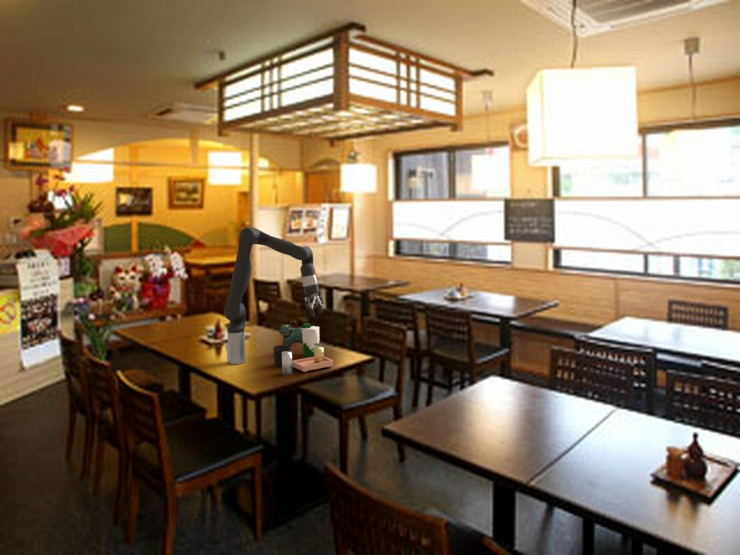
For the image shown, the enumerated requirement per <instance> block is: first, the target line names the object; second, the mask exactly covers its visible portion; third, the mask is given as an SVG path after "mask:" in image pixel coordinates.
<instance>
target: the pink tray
mask: <svg viewBox="0 0 740 555" xmlns="http://www.w3.org/2000/svg"><path fill="white" fill-rule="evenodd" d="M333 366H335V365H334V359H331V358H328V357H326V356H324V362H321V363H314V357H310V358H305V359H303V358H300V359H294V360H293V359H292V368H295V369H297V370H299V371H302V372H303V373H305V374H306V373H307V372H308V371H313V370H319V369H322V368H328V369H331V367H333Z"/></svg>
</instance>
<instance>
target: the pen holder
mask: <svg viewBox="0 0 740 555" xmlns="http://www.w3.org/2000/svg"><path fill="white" fill-rule="evenodd" d="M284 351H291V352H292V346H283V344H282V345H281V344H278V345H274V346H273V358H274V359H273V360H274V366H275V367H277V366H278V368H282V352H284Z"/></svg>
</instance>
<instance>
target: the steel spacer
mask: <svg viewBox="0 0 740 555" xmlns="http://www.w3.org/2000/svg"><path fill="white" fill-rule="evenodd" d="M292 352H293V351H292V350H291V351H284V352H282V367H281V368H282V369H281V370H282V371H281V373H282V375H285V376H288V375H289V374H290V375H292V374H293V366H292V361H293V354H292ZM290 375H289V376H290Z"/></svg>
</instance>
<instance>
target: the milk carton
mask: <svg viewBox="0 0 740 555" xmlns="http://www.w3.org/2000/svg"><path fill="white" fill-rule="evenodd" d="M302 326H303V327H301V328H302V336H303V344H302V356H303V357H302V359H305V358H310V357H314V347H317V346H321V344H320V342H321V340H320V326H315V325H312V326H311V323H308V322H307V323H306V322H305V323H303V324H302Z"/></svg>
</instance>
